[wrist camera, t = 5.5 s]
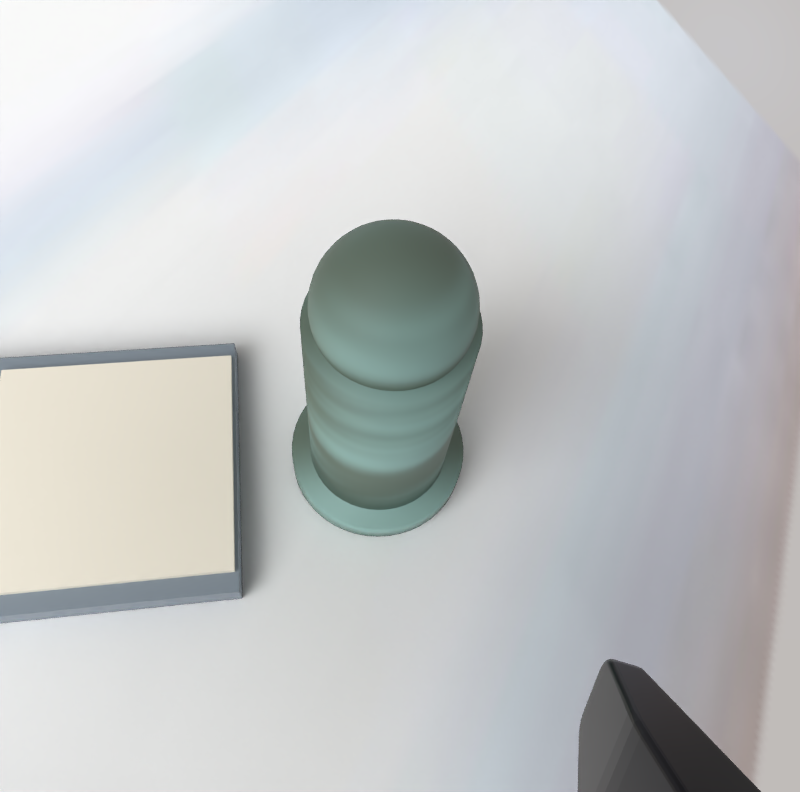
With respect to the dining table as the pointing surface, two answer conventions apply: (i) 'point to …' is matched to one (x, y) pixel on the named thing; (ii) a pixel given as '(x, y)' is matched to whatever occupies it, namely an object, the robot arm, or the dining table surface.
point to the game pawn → (385, 377)
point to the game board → (118, 481)
